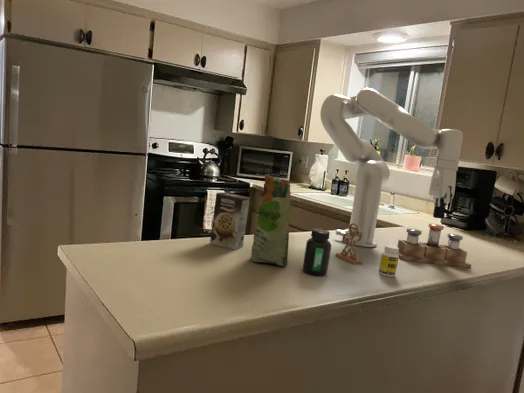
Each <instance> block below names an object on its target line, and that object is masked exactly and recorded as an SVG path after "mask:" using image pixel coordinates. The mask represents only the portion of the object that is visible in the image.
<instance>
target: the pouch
mask: <svg viewBox="0 0 524 393" xmlns="http://www.w3.org/2000/svg"><path fill="white" fill-rule="evenodd" d="M261 197H262V202H260V203H259V204H258V208H257V210H258V212H259V213H258V214H259V215H258V216H257V224H256V227H255V229H254V233H253V242H252V246H251V255H250V260H251V261H252V262H253V263H265V264H270V265H277V266H280V267H285V266H287V265H288V260H289V259H288V256H289V255H288V254H289V242H290V241H289V240H290V239H289V238H290V237H289V236H290V213H291V207H292V206H291V205H292V199H291V183H290V181H289V180H286V179H284V178H283V179H282V178H278V176H277V175H276V176H275V177H274V176H271V175H270V174H269V173H266V174H265V175H264V184H263V192H262V193H261Z"/></svg>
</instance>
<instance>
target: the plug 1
mask: <svg viewBox="0 0 524 393" xmlns="http://www.w3.org/2000/svg"><path fill="white" fill-rule="evenodd" d="M405 232H406V233H407V235H406V236H407V237H406V240H407V241H406V243H407V244H412V245H417V244H418V242H419V237H420V236H421V235H422V230H420V229H416V228H409V227H408V228H406V231H405Z"/></svg>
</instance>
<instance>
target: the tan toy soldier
mask: <svg viewBox="0 0 524 393" xmlns="http://www.w3.org/2000/svg"><path fill="white" fill-rule="evenodd" d="M353 224H354V225H355V226H356V228H354V227H351V226H352V225H353ZM348 228H349V232H350V233H349V234H350V237H352V238H351V241H350V243H351V244H350V243H349V240H350V238H346V237H345V235H346V234H348V233H345V234H344V235H343V236H342V239H341V240H342V242H343V243H346V245H345V247H344V248H343V249H342V251H341V252H337V253H335V255H334V256H335V257H336V258H338V259H339V260H340V259H341V261H344V262H347V264H348V263H349V264H350V265H353V266H357V265H362V264H363V261H362V260H361V259H358V257H357V253H356V248H355V246H356V245H355V241H356V240H354V242H352V241H353V238H355V236H359V237H360V238H359V239H358V240H357V241H360V240H361V238H362V232H358V226H357V225H356V224H355V223H352V224H350V223H349V227H348ZM351 229H353V230H356V231H354V232H353V231H352V230H351ZM359 233H360V234H359ZM356 234H357V235H356ZM344 239H345V240H346V241H345V240H344ZM352 243H353V244H352ZM348 246H349V248H348ZM351 247H352V248H351ZM347 248H348V250H347ZM346 250H347V251H346ZM352 250H353V251H352Z"/></svg>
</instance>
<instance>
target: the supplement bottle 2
mask: <svg viewBox="0 0 524 393" xmlns="http://www.w3.org/2000/svg"><path fill="white" fill-rule="evenodd" d="M383 250H384V251H383V252H382V253H381V260H380V264H379V269H378V273H379V274H380V275H383V276H385V277H389V278H393V277H395V276H396V273H397V267H398V263H399V255H398V254H397V253H398V252H399V248H398V247H397V246H394V245H389V244H387V245H385V246H384V249H383Z"/></svg>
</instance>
